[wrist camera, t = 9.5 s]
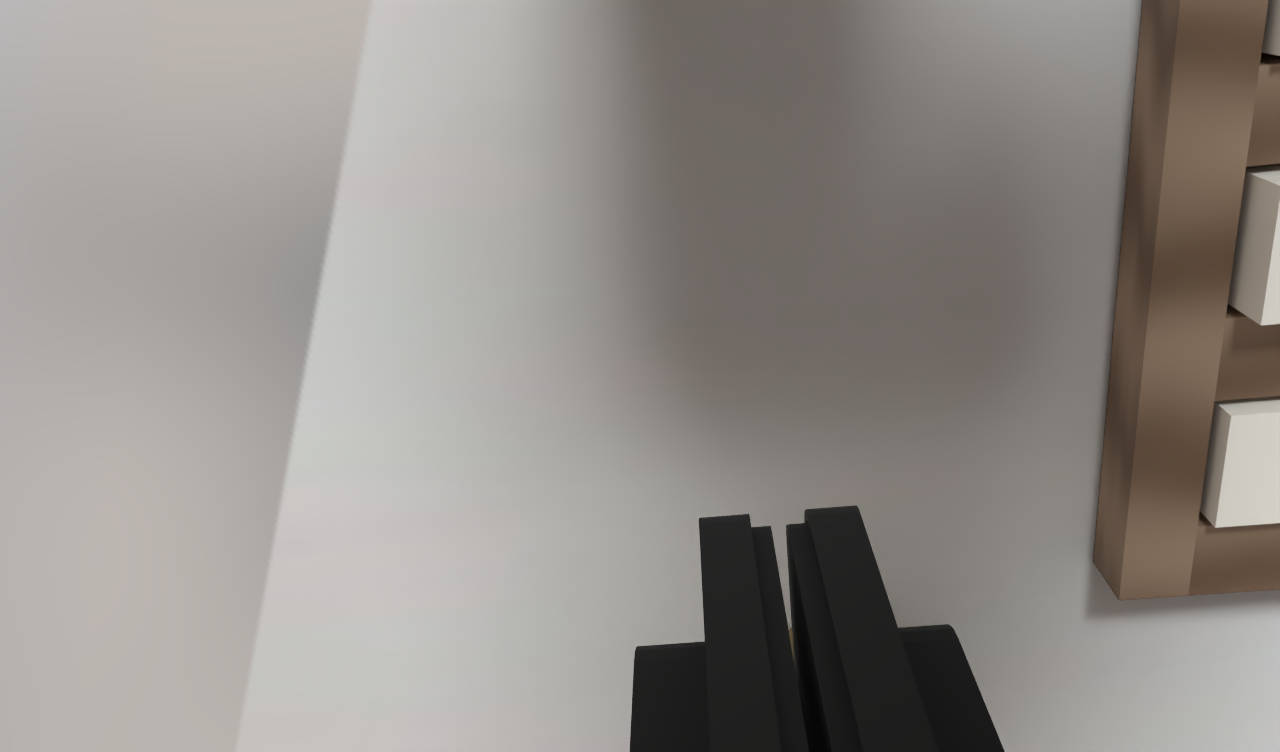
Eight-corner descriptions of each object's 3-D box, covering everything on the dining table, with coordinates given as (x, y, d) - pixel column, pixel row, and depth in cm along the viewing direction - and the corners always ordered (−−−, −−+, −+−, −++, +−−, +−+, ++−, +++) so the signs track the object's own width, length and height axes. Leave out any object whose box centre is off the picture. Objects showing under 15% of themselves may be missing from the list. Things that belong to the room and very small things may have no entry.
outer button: (1195, 385, 36) (1231, 416, 34) (1323, 374, 36) (1368, 404, 33) (1182, 491, 38) (1215, 527, 35) (1304, 482, 37) (1345, 518, 35)
